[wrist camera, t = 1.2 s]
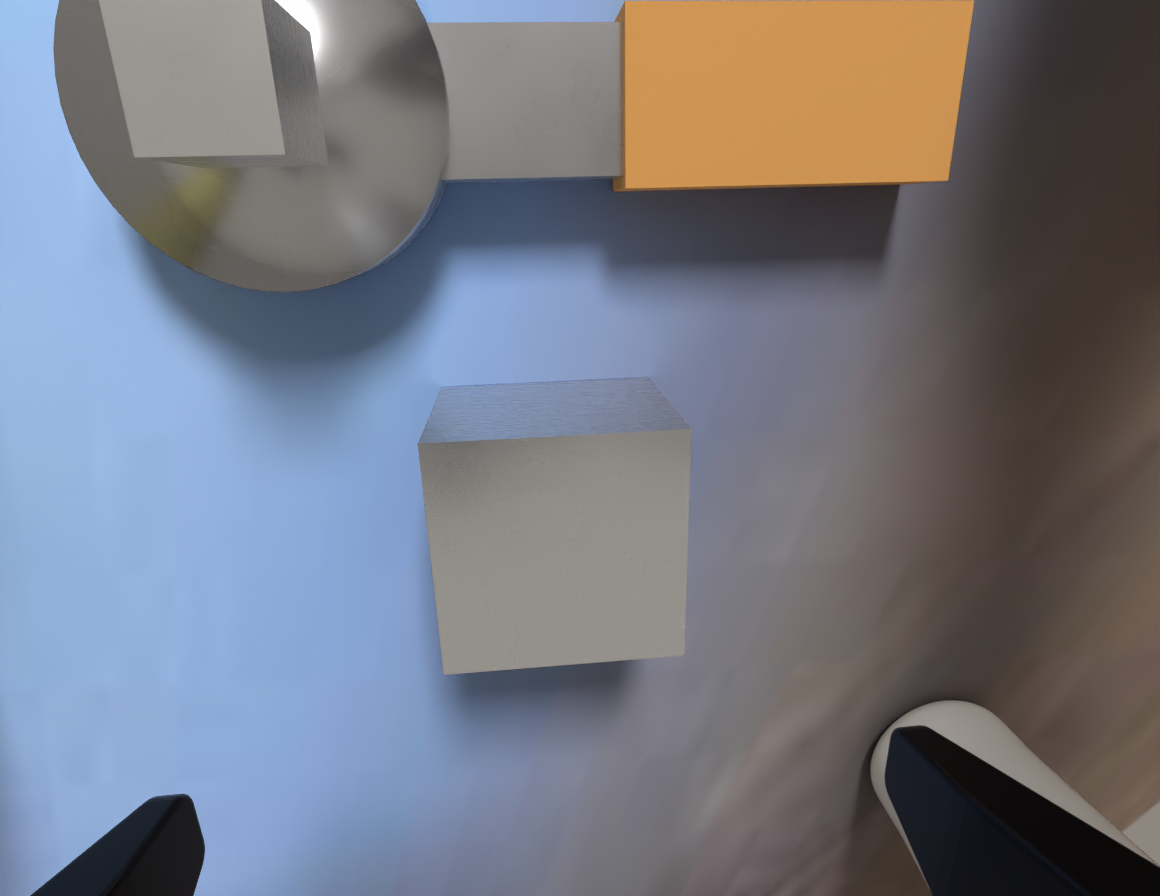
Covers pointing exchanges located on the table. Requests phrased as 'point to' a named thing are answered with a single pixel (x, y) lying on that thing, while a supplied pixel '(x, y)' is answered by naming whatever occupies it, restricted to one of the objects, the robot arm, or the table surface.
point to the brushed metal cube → (556, 523)
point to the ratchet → (479, 113)
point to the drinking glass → (990, 761)
